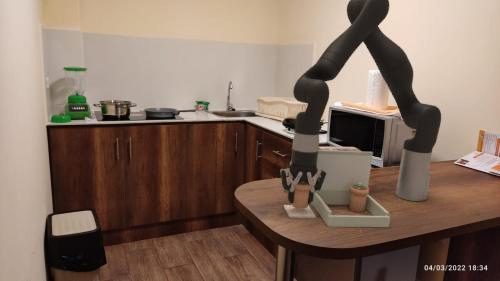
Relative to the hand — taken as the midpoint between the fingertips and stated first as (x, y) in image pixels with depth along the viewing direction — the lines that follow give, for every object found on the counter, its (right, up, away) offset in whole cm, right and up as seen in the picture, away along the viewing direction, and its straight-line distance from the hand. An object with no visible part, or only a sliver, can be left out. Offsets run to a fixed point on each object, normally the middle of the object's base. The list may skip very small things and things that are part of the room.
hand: (299, 202), depth 111 cm
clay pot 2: (+19, -3, +6) cm, 20 cm away
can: (+2, +1, +19) cm, 19 cm away
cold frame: (+15, -4, +1) cm, 15 cm away
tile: (0, -3, +1) cm, 3 cm away
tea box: (+17, +1, +25) cm, 31 cm away
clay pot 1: (0, -1, 0) cm, 1 cm away
